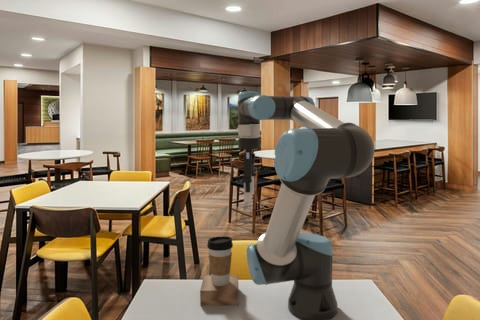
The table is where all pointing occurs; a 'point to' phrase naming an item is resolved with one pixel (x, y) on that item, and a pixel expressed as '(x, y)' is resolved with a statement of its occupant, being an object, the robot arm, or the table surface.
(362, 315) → the table surface
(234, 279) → the walnut block
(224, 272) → the coffee cup
